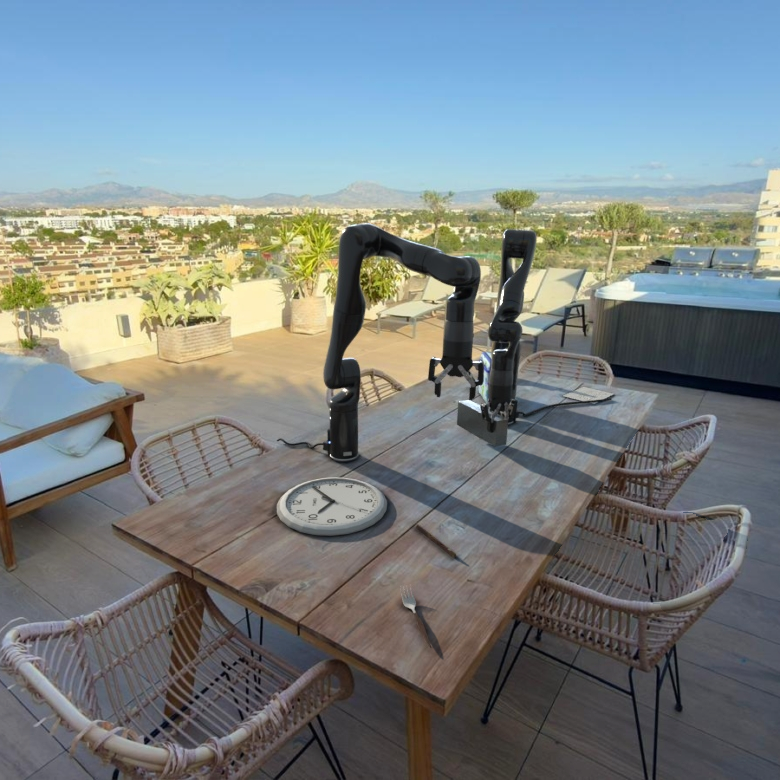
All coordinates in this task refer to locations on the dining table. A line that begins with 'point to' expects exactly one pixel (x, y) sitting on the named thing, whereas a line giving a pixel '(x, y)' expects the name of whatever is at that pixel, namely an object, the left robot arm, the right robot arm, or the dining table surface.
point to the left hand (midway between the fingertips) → (454, 398)
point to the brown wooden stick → (436, 541)
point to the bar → (481, 423)
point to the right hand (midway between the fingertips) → (496, 430)
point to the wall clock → (331, 506)
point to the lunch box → (485, 375)
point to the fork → (411, 605)
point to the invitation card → (588, 394)
